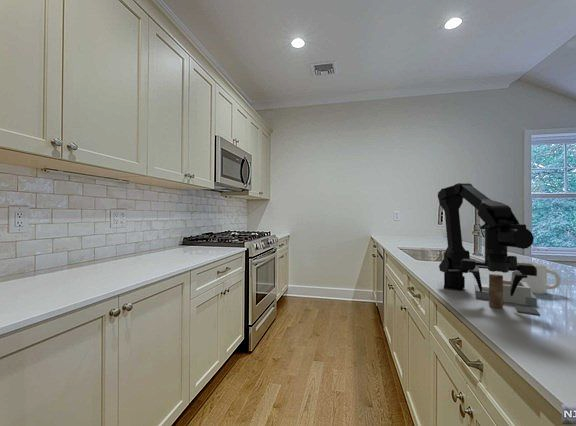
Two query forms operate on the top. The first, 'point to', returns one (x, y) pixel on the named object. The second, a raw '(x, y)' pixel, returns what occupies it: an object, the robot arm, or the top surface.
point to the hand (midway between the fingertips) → (495, 293)
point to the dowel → (496, 291)
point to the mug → (541, 279)
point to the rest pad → (527, 310)
